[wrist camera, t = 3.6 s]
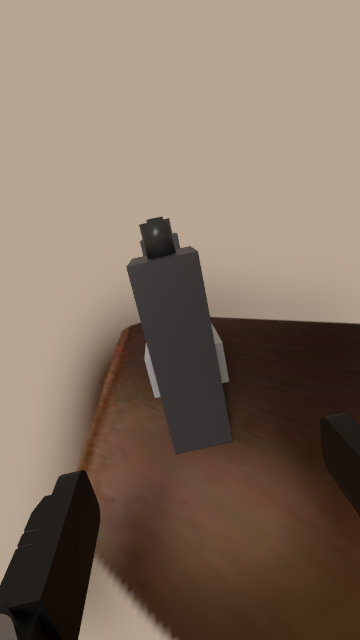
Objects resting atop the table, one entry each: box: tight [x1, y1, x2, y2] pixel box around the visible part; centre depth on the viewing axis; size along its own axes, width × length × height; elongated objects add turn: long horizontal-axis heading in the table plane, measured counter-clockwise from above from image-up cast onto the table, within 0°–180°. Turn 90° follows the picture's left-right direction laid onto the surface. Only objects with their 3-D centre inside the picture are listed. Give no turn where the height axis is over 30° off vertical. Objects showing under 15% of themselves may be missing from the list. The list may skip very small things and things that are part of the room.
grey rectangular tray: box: [145, 323, 229, 398], centre depth 33 cm, size 14×7×5 cm, turn 5°
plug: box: [127, 218, 233, 454], centre depth 20 cm, size 4×4×15 cm
